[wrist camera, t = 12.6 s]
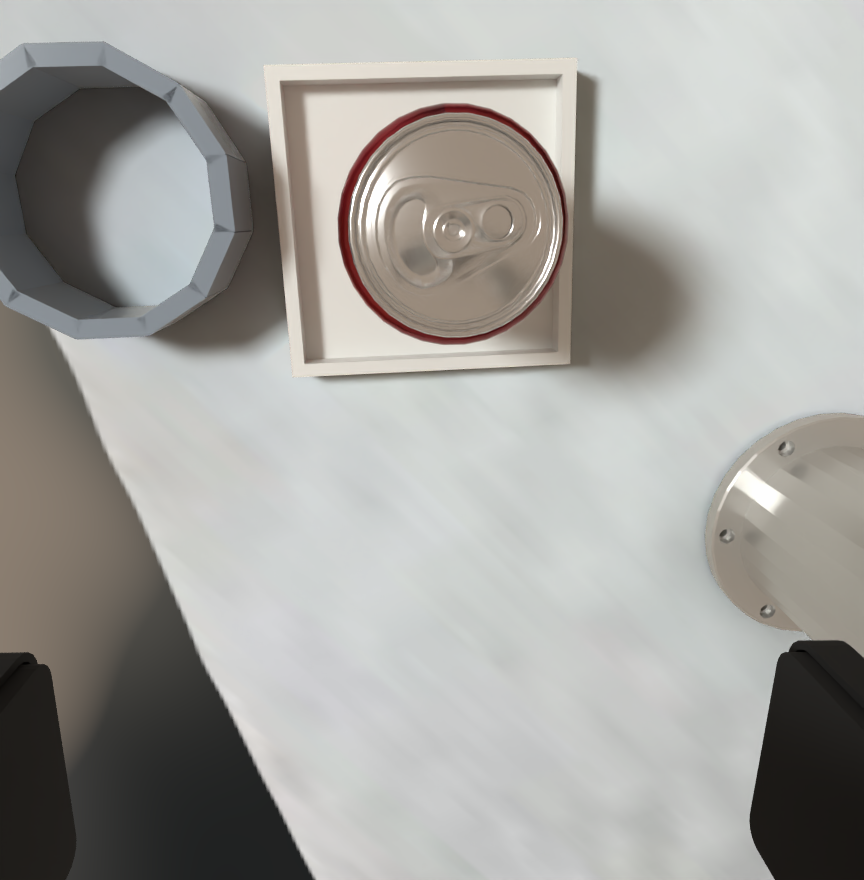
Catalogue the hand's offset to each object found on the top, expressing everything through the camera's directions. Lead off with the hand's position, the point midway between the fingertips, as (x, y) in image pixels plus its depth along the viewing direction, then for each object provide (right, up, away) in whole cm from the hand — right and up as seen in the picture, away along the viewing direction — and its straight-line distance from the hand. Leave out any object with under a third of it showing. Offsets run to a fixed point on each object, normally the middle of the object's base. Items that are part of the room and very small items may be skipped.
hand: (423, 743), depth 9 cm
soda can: (0, +14, +24) cm, 28 cm away
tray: (0, +14, +25) cm, 28 cm away
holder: (-14, +15, +23) cm, 31 cm away
